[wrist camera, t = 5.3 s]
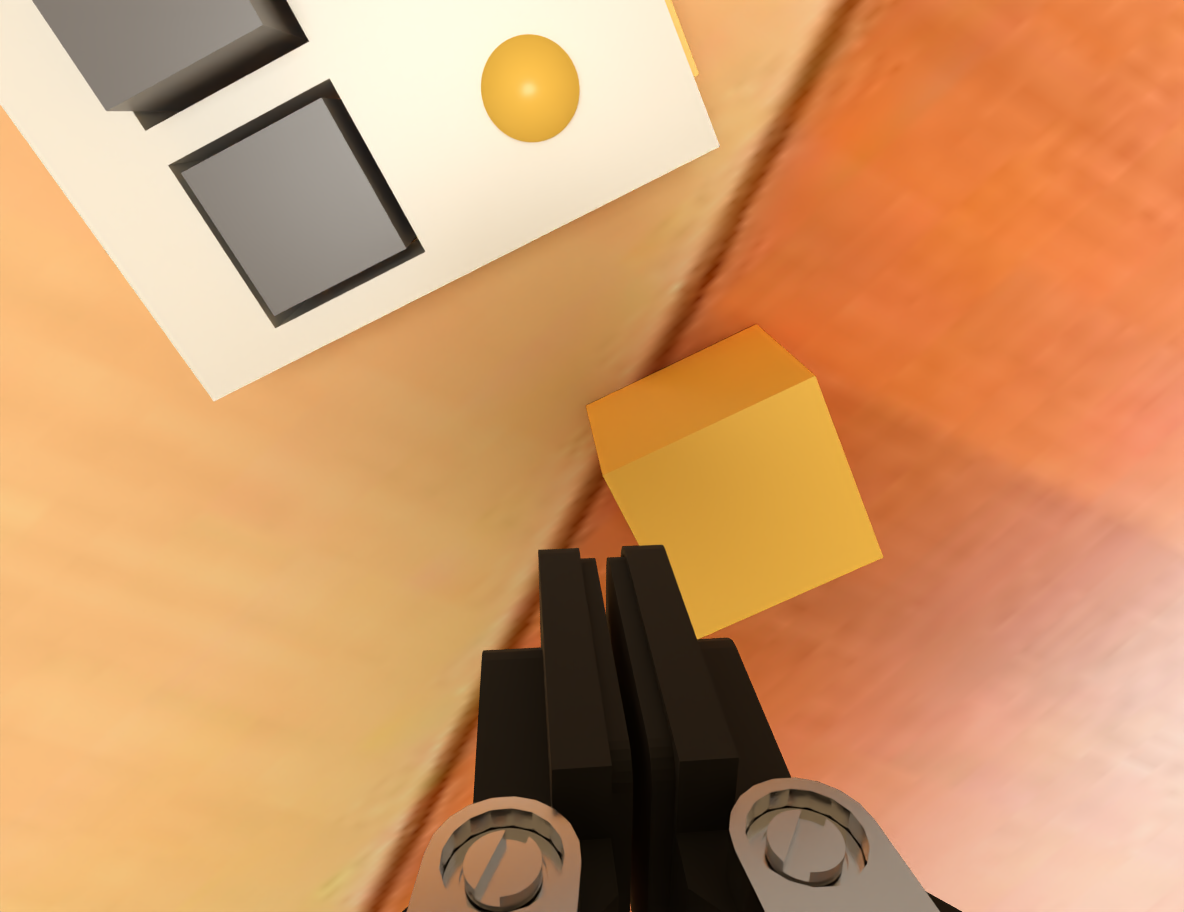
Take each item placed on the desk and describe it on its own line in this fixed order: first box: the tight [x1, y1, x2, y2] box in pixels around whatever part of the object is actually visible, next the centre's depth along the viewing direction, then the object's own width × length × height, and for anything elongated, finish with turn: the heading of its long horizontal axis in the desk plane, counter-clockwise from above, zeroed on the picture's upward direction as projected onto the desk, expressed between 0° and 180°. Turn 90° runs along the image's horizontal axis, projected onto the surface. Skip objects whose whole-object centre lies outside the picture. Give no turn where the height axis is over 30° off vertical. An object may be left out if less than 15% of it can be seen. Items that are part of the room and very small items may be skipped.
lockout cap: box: [586, 324, 883, 639], centre depth 25 cm, size 6×6×6 cm
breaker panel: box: [0, 0, 720, 401], centre depth 20 cm, size 11×14×5 cm
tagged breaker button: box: [181, 98, 417, 316], centre depth 20 cm, size 4×4×4 cm
